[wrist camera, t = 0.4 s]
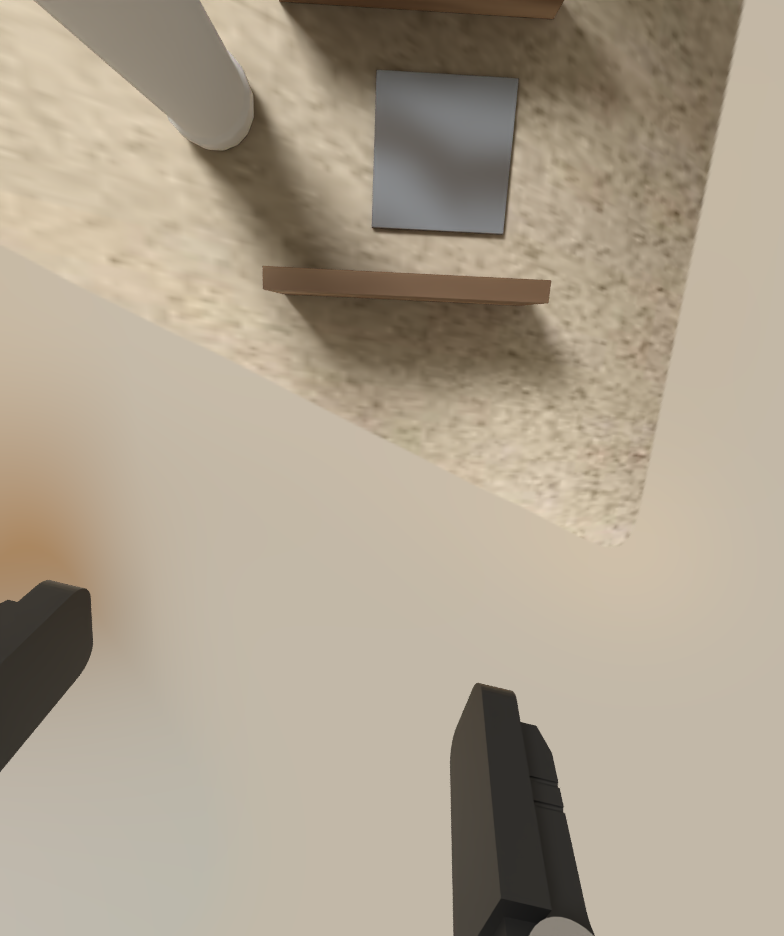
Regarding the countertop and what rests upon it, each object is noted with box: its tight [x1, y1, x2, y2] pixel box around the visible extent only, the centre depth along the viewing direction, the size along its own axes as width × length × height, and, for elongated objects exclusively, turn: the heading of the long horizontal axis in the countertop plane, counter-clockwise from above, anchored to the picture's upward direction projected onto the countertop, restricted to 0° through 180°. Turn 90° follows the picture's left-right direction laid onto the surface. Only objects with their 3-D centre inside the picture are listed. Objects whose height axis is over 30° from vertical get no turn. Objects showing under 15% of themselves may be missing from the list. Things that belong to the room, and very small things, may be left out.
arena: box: [263, 0, 564, 306], centre depth 28 cm, size 17×16×6 cm
